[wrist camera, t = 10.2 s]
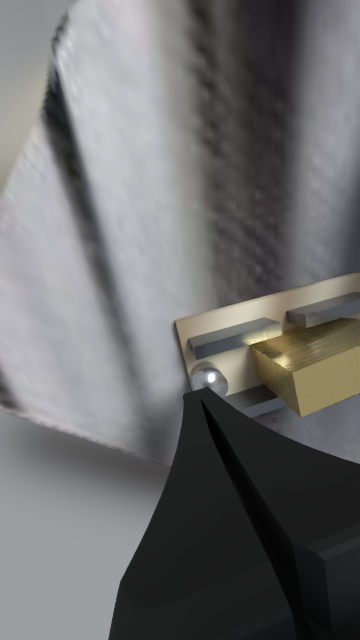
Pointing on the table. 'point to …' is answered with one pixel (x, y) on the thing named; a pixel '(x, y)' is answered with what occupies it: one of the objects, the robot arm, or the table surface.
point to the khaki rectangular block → (311, 364)
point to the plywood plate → (273, 306)
